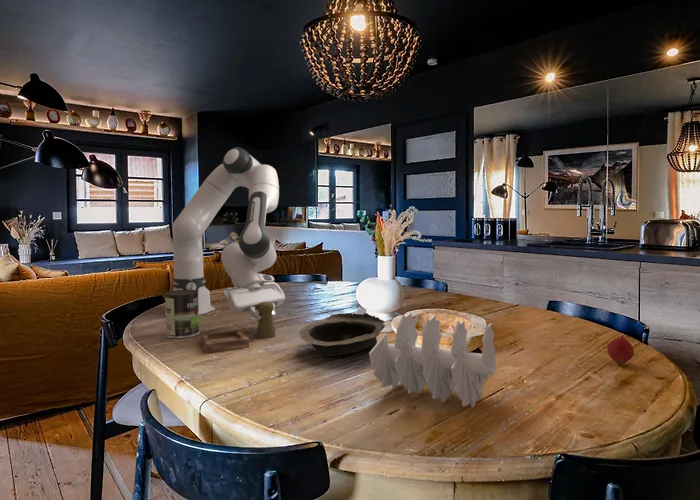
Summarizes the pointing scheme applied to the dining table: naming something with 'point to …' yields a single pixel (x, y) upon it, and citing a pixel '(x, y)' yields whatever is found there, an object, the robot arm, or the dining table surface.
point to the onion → (620, 350)
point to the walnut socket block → (224, 341)
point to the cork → (266, 320)
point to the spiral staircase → (434, 361)
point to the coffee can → (182, 313)
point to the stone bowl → (343, 333)
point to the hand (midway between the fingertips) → (267, 318)
